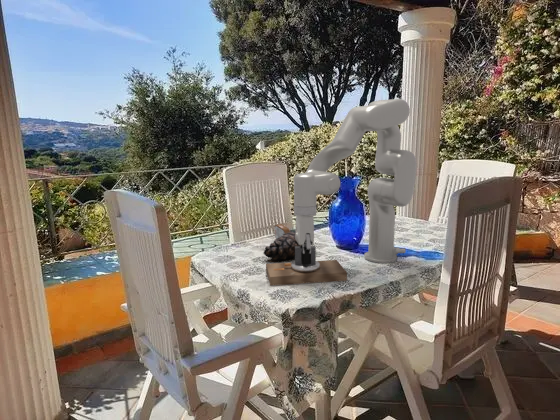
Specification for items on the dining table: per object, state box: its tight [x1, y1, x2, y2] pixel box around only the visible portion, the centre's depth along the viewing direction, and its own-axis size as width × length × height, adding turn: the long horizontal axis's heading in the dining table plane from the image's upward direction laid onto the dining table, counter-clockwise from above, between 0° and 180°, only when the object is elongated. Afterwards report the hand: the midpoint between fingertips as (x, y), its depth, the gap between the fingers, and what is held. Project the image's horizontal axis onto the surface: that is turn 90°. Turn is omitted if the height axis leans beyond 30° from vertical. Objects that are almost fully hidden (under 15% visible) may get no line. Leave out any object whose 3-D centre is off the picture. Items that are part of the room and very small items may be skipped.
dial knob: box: [285, 245, 320, 272], centre depth 140 cm, size 12×10×7 cm
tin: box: [273, 223, 291, 239], centre depth 179 cm, size 15×3×8 cm, turn 22°
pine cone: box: [263, 231, 300, 263], centre depth 159 cm, size 10×18×10 cm, turn 136°
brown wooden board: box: [265, 259, 348, 287], centre depth 141 cm, size 26×13×3 cm, turn 98°
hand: (305, 261), depth 140 cm, fingers open, 3 cm apart
